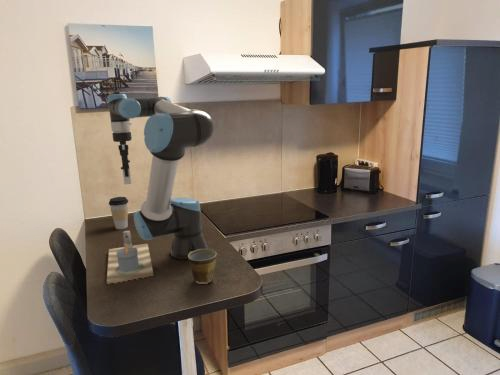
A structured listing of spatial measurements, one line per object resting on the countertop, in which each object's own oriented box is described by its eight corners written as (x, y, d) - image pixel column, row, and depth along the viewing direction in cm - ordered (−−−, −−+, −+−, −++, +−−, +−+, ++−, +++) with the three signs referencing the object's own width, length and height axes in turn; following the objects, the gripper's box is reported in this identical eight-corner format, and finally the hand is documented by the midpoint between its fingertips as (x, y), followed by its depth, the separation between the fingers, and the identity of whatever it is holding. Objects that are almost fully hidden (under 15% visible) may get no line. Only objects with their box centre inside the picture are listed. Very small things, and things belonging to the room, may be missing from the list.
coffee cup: (107, 229, 193) (103, 200, 189) (122, 223, 201) (118, 195, 197) (121, 231, 188) (117, 202, 185) (135, 225, 196) (132, 197, 193)
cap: (139, 269, 142) (137, 251, 140) (118, 273, 140) (116, 255, 138) (138, 261, 149) (136, 244, 147) (118, 265, 147) (116, 247, 145)
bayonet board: (109, 252, 164) (106, 229, 161) (148, 246, 168) (145, 224, 166) (107, 284, 136) (103, 257, 133) (153, 276, 141) (150, 249, 138)
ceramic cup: (224, 279, 136) (222, 253, 134) (203, 290, 129) (200, 263, 127) (200, 269, 145) (198, 244, 142) (178, 279, 138) (176, 253, 135)
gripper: (131, 133, 151) (137, 185, 156) (130, 128, 174) (135, 174, 179) (111, 135, 149) (118, 188, 154) (112, 129, 172) (118, 175, 177)
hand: (127, 180), depth 167 cm, fingers open, 13 cm apart
